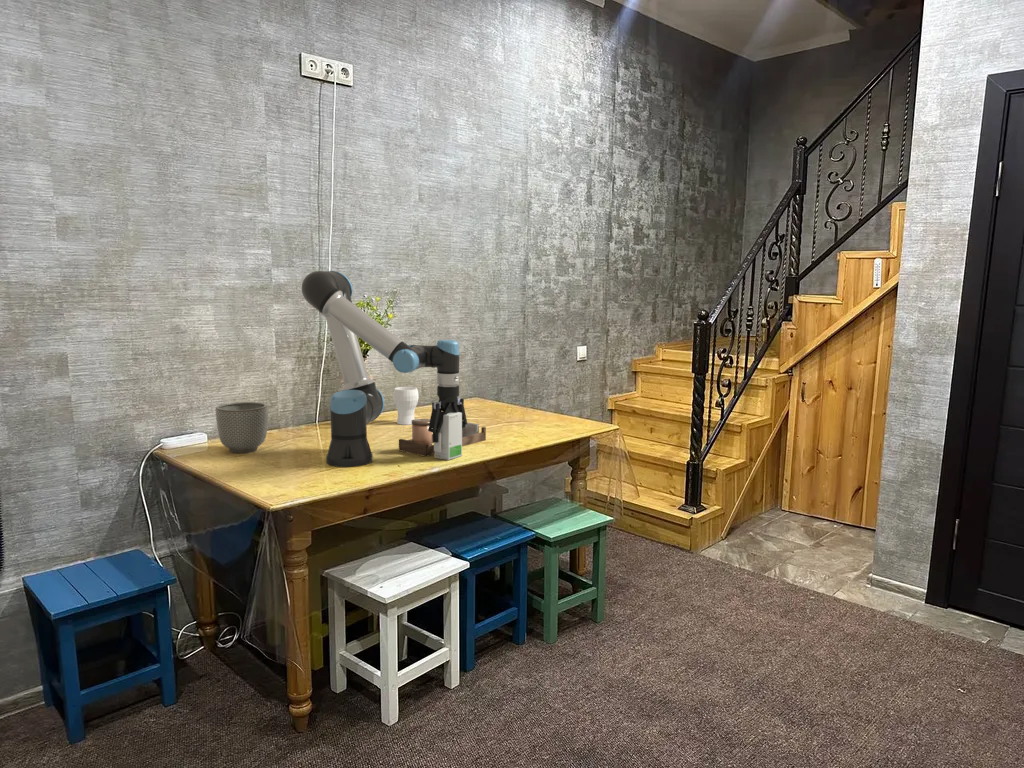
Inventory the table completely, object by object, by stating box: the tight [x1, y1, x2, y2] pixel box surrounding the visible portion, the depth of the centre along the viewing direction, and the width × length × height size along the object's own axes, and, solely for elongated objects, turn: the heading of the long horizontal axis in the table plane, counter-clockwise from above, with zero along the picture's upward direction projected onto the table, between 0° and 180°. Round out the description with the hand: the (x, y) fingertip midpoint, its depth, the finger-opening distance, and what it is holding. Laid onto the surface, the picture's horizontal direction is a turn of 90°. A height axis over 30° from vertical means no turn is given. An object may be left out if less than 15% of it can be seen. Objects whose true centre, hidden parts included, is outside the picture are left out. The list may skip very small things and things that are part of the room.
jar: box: [411, 418, 433, 446], centre depth 253 cm, size 7×7×11 cm
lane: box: [398, 426, 487, 457], centre depth 263 cm, size 33×13×5 cm, turn 143°
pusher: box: [462, 421, 480, 437], centre depth 275 cm, size 5×10×6 cm, turn 53°
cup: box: [392, 386, 420, 426], centre depth 300 cm, size 11×11×15 cm
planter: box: [215, 401, 269, 454], centre depth 249 cm, size 17×17×16 cm
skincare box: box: [434, 412, 463, 461], centre depth 245 cm, size 8×7×16 cm
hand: (448, 448), depth 246 cm, fingers open, 10 cm apart
